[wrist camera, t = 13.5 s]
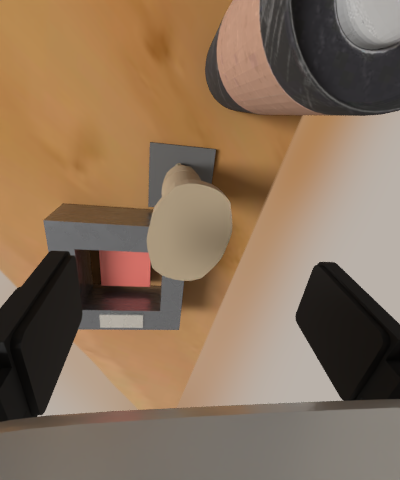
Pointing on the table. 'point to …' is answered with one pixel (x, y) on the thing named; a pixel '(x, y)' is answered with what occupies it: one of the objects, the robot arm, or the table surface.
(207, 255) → the handle
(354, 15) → the travel mug
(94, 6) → the table surface
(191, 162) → the mat
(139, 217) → the grey shallow box
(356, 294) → the robot arm
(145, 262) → the button
